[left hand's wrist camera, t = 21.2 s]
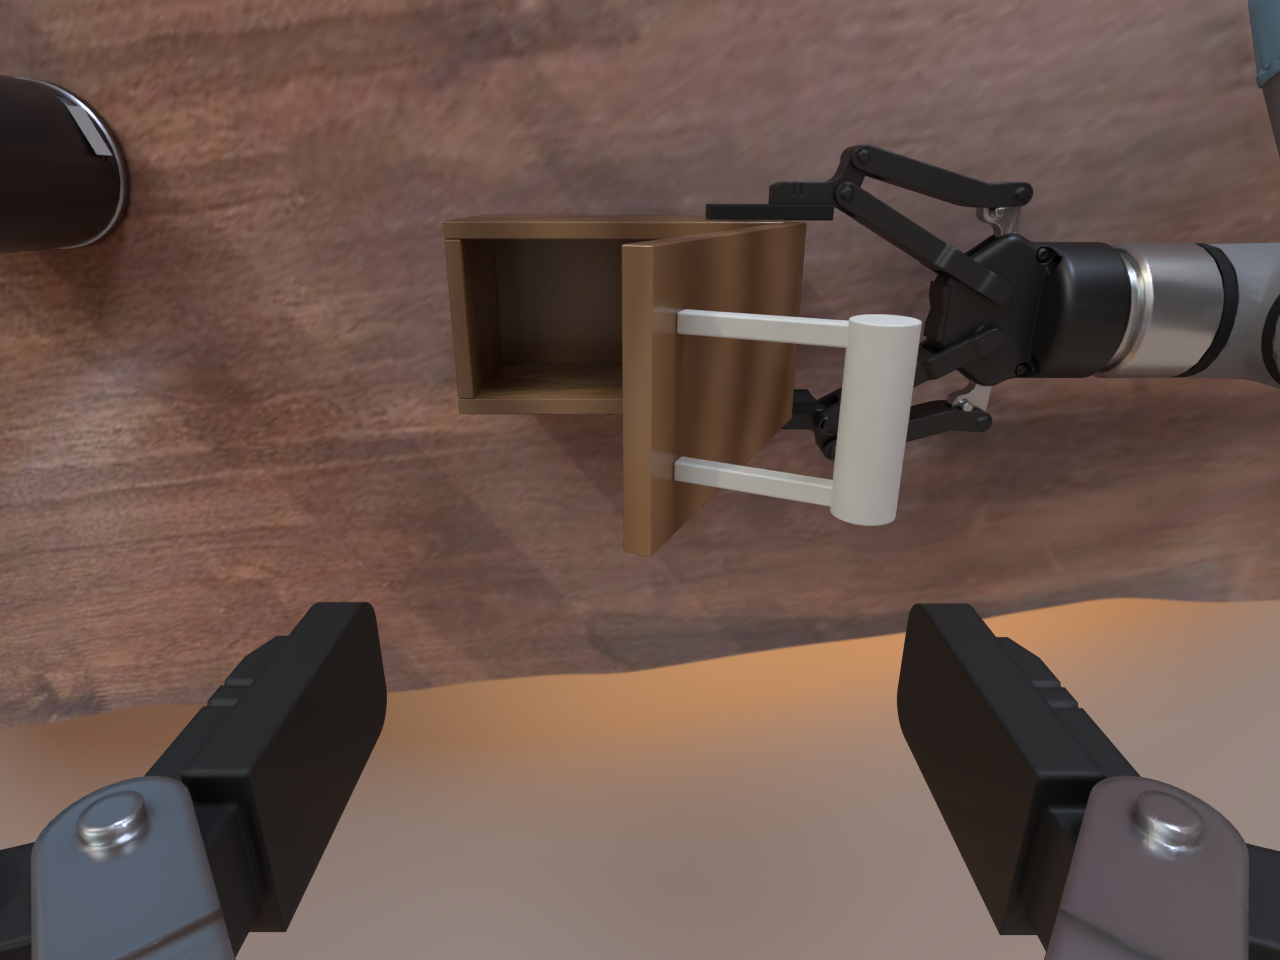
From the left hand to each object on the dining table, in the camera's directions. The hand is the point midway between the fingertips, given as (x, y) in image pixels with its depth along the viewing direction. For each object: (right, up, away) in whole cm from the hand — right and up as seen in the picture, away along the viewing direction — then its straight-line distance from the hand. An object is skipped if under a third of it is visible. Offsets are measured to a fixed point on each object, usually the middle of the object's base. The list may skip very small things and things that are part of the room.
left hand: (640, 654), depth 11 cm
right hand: (+4, +12, +32) cm, 34 cm away
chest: (-1, +14, +37) cm, 40 cm away
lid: (+3, +8, +20) cm, 22 cm away
